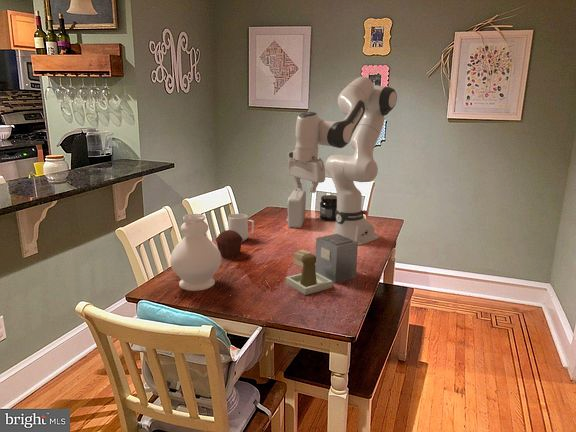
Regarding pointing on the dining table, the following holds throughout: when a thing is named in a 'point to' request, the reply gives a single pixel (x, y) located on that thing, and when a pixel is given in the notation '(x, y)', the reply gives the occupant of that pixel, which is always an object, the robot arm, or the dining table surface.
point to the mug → (240, 224)
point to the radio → (296, 208)
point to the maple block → (299, 257)
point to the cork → (308, 270)
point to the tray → (321, 285)
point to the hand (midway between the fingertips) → (305, 190)
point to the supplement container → (328, 207)
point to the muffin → (229, 243)
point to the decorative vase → (195, 255)
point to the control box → (336, 257)
